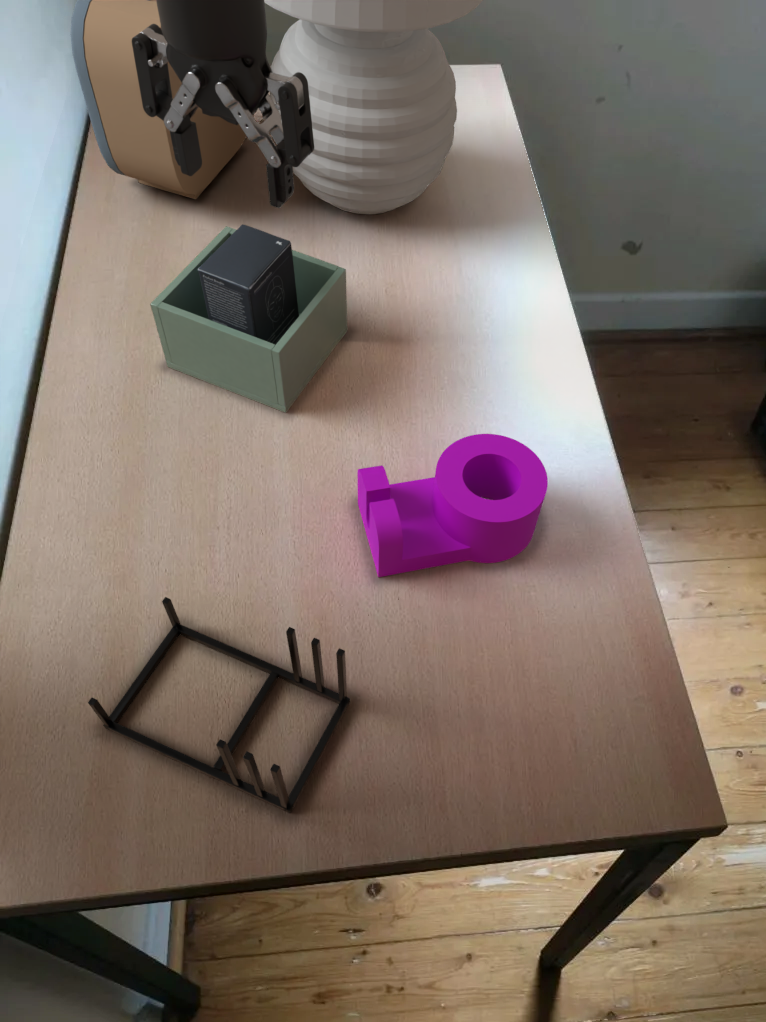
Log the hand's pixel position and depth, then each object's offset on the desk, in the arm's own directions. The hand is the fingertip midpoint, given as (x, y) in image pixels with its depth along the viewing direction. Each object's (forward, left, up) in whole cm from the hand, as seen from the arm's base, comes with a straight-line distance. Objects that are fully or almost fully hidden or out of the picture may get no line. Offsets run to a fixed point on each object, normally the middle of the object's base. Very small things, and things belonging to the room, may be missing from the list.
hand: (236, 186), depth 69 cm
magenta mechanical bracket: (+27, -12, -18) cm, 35 cm away
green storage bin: (0, 0, -18) cm, 18 cm away
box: (0, 0, -17) cm, 17 cm away
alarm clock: (-23, +24, -18) cm, 38 cm away
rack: (+19, -37, -18) cm, 45 cm away
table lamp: (-3, +31, -18) cm, 36 cm away
